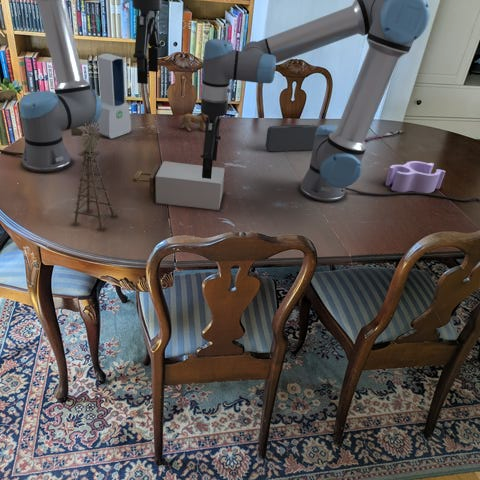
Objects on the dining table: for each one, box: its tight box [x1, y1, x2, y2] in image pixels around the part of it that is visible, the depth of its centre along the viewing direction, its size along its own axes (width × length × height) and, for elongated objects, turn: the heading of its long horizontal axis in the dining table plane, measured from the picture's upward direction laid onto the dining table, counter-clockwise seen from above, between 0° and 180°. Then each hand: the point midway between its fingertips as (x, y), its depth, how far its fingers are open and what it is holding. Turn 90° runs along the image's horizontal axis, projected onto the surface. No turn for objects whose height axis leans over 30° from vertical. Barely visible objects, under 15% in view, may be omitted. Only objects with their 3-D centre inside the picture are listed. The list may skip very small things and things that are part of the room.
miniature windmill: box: [70, 116, 115, 230], centre depth 124 cm, size 9×8×30 cm
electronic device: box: [95, 53, 132, 139], centre depth 180 cm, size 12×8×30 cm, turn 148°
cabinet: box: [155, 160, 226, 211], centre depth 146 cm, size 20×11×9 cm, turn 86°
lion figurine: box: [177, 111, 209, 132], centre depth 198 cm, size 15×5×9 cm, turn 110°
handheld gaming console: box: [264, 124, 320, 152], centre depth 189 cm, size 23×3×10 cm, turn 108°
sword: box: [364, 130, 405, 143], centre depth 214 cm, size 31×3×1 cm, turn 126°
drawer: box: [131, 163, 161, 200], centre depth 146 cm, size 24×10×7 cm, turn 86°
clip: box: [385, 160, 447, 194], centre depth 170 cm, size 20×12×7 cm, turn 109°
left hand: (148, 77), depth 131 cm, fingers open, 13 cm apart
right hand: (209, 168), depth 143 cm, fingers open, 13 cm apart
